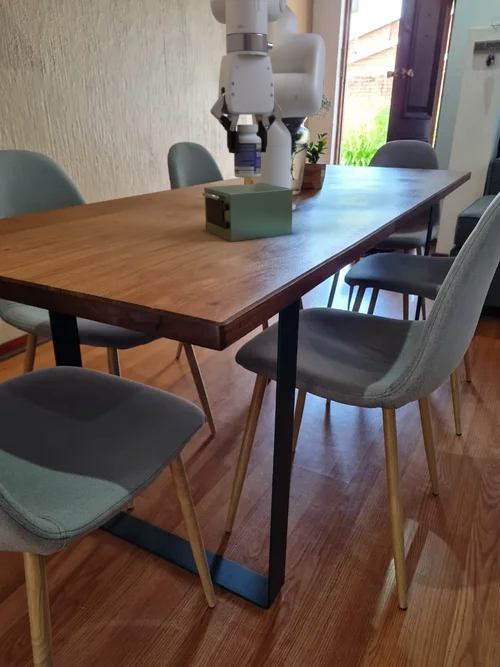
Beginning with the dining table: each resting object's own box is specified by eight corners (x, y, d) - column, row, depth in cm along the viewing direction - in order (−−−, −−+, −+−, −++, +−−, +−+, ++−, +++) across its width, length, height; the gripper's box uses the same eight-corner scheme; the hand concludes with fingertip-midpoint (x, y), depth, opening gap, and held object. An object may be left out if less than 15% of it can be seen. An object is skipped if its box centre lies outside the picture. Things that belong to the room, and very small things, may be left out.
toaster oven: (200, 231, 108) (198, 187, 104) (262, 224, 115) (262, 182, 111) (225, 242, 98) (224, 194, 95) (291, 234, 105) (292, 189, 101)
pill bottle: (261, 178, 100) (261, 124, 96) (234, 178, 100) (233, 124, 96) (260, 175, 105) (260, 124, 101) (234, 175, 105) (233, 124, 101)
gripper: (275, 52, 100) (274, 150, 107) (195, 47, 93) (200, 153, 100) (297, 48, 94) (294, 152, 101) (213, 42, 86) (216, 155, 94)
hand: (247, 151), depth 100 cm, fingers closed on pill bottle, 5 cm apart
